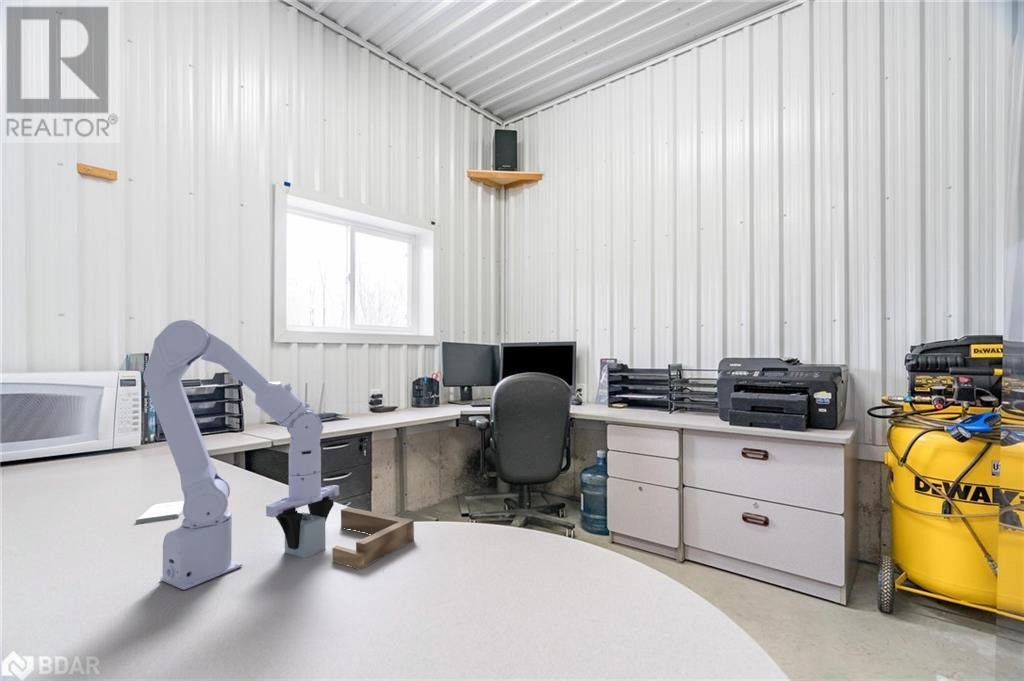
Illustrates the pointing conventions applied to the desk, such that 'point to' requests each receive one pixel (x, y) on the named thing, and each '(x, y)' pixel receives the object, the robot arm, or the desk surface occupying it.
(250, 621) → the desk surface
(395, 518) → the wooden frame
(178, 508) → the external hard drive
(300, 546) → the cabinet block
